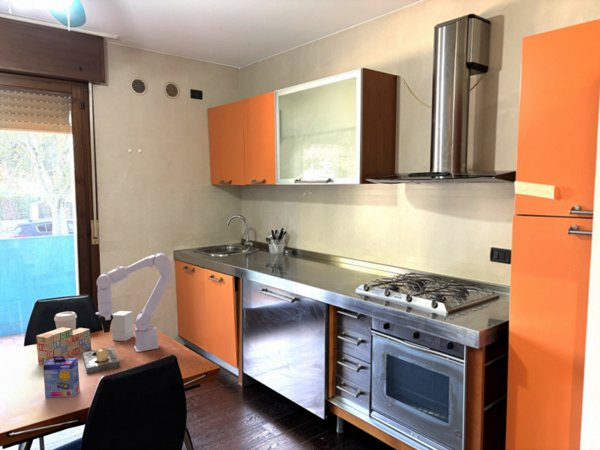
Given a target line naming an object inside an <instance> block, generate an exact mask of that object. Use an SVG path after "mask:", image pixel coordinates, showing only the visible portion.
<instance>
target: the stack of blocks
mask: <svg viewBox="0 0 600 450" xmlns="http://www.w3.org/2000/svg"><path fill="white" fill-rule="evenodd" d="M91 339H92V338H91V329H90V328H86V327H85V328H83V327H78V328H76V329H75V330H72V328H64V327H61V328H58V329H54V330H50V331H47V332H44V333H40V334H37V335H36V350H37V363H38V365H42V366H43V364H44V363H46V362H47V361H48V360H49V359H54V358H53V356H64V358H65V359H66V358H73V357H74V356H77V355H78V354H83V353H85V352H88V350H91V349H92V340H91ZM56 359H59V358H56ZM61 359H63V358H61Z"/></svg>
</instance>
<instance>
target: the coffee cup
mask: <svg viewBox="0 0 600 450" xmlns="http://www.w3.org/2000/svg"><path fill="white" fill-rule="evenodd" d="M77 318H78V316H77V313H76V312H74V311H63V312H59V313H56V314H55V315H54V319H53V321H54V322H55V327H56V329H58V328H61V327H64V328H72V330H75V329H77V328H76V327H77Z"/></svg>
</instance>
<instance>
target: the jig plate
mask: <svg viewBox="0 0 600 450" xmlns="http://www.w3.org/2000/svg"><path fill="white" fill-rule="evenodd" d="M106 349H107V359H108V362H105V363H100V364H99V363H97V356H96V350H91V351H84V352H82V359H83V363H84V367H85V371H86V374H87V375H90V374H94V373H100V372H104V371H109V370H113V369H114V370H115V369H119V368H120V367H121V365H120V363H121V362H120V360H119V357H118V355H117V353H116V351H115V349H114V347H109V348H106Z"/></svg>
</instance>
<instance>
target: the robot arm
mask: <svg viewBox="0 0 600 450" xmlns="http://www.w3.org/2000/svg"><path fill="white" fill-rule="evenodd" d="M171 265H172V264H171V261H170V259H169V257H168V256H167V254H166V253H164V252H161V251H160V252H157V253H155V254H152V255H148V256H146V257H144V258H142V259H140V260H138V261H136V262H135V263H132V264H129V265H128V266H123V265H121V266H120V265H118V266H116V267H115V268H114V269H112V270H110V271H108V270H107V271H106V272H105V273H102V274H100V275H99V276H98V278H97V279H96V286H97V304H98V305H97V308H98V311H97V312H95V315H96V316H98V319H99V320H100V322H101V323H100V324H101V325H102V330H103V332H104V333H106V334H107V333H110V330H111V328H112V323H111V322H112V320H113V315H112V314H114V308H113V305H114V304H113V291H112V286H111V285H115V284H117V283H119V282H121V281H124V280H126V279H128V278H129V275H130V274H131V273H134V272H136V271H139V270H142V269H144V268H147V267H149V268H154V267H155V268H156V269H157V270H158V272H159V275H160V277H159V278H158V280H157V282H156V284H155V286H154V287H153V290H152V291H151V293H150V296H149V298H147V302H146V303H145V305H144V307H143V308H142V310H141V311H140V312H139V313H138V314H137V315H136V316H135V327H134V338H135V345H134V346H133V348H134V350H135V351H136V353H141V352H145V351H149V350H151V351H152V350H155V349H159V335H158V334H159V333H158V329H157V328H158V327H156V326H155V327H153V326H152V324H151V321H152V318H153V316H154V313H155V311H156V309H157V307H158V305H159V303H160V301H161V299H162V297H163V295H164V293H165V292H166V289H167V288H168V285H169V284H170V282H171V279H172V278H173V272H172V267H171Z"/></svg>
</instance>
